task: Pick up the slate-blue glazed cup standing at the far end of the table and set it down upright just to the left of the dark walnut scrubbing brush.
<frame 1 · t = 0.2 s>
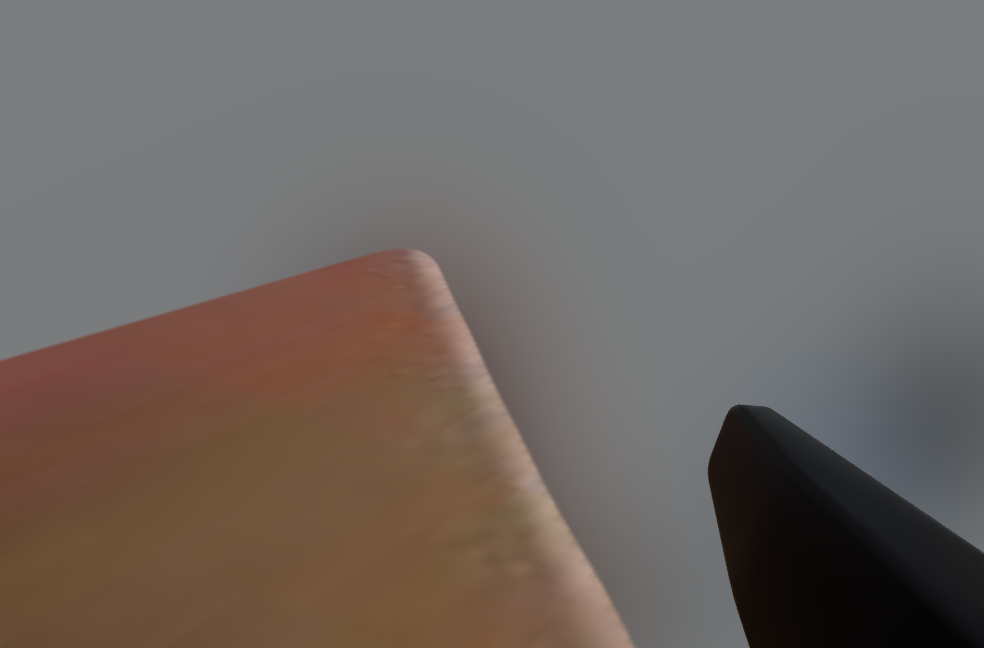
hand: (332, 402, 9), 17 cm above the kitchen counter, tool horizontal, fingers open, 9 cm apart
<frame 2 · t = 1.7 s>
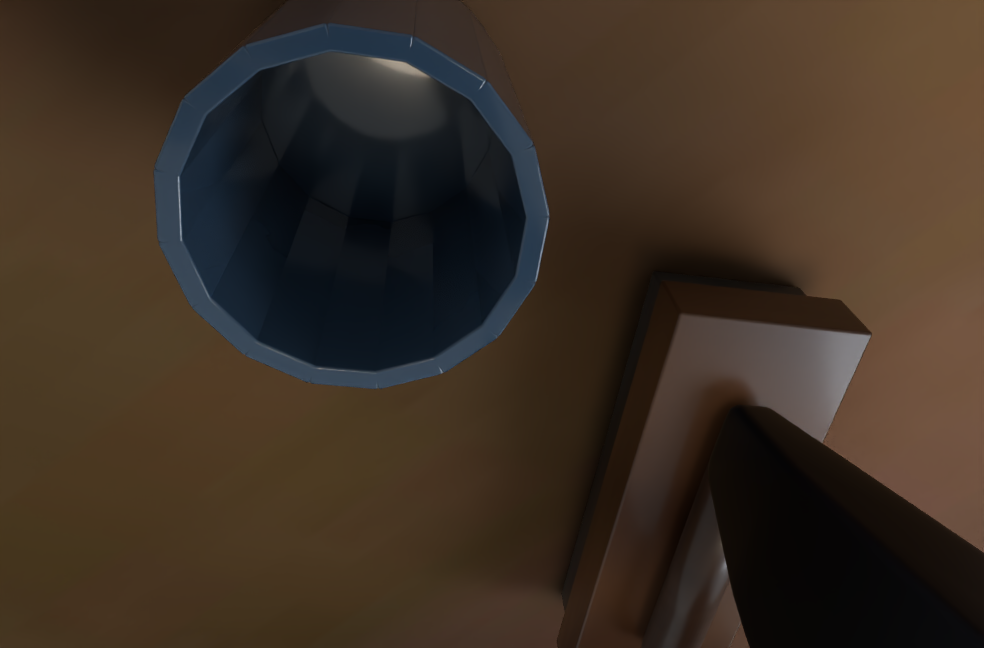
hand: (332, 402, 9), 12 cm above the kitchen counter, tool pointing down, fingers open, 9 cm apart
cup: (380, 106, 19), on the kitchen counter
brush: (666, 457, 25), on the kitchen counter
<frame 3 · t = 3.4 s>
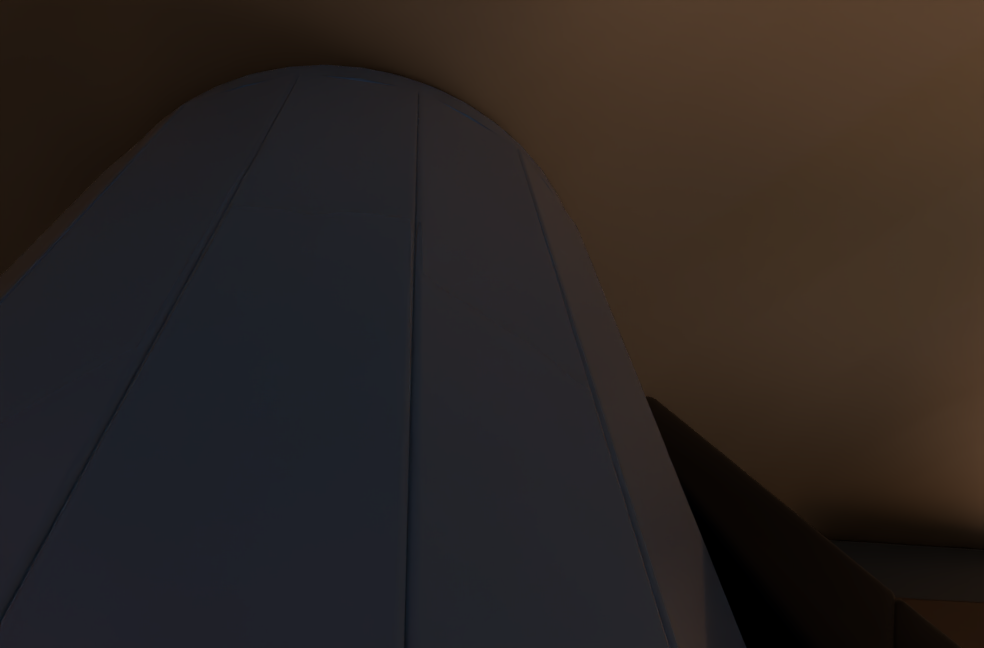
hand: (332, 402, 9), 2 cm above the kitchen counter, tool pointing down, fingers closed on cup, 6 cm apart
cup: (345, 308, 10), on the kitchen counter, touching gripper
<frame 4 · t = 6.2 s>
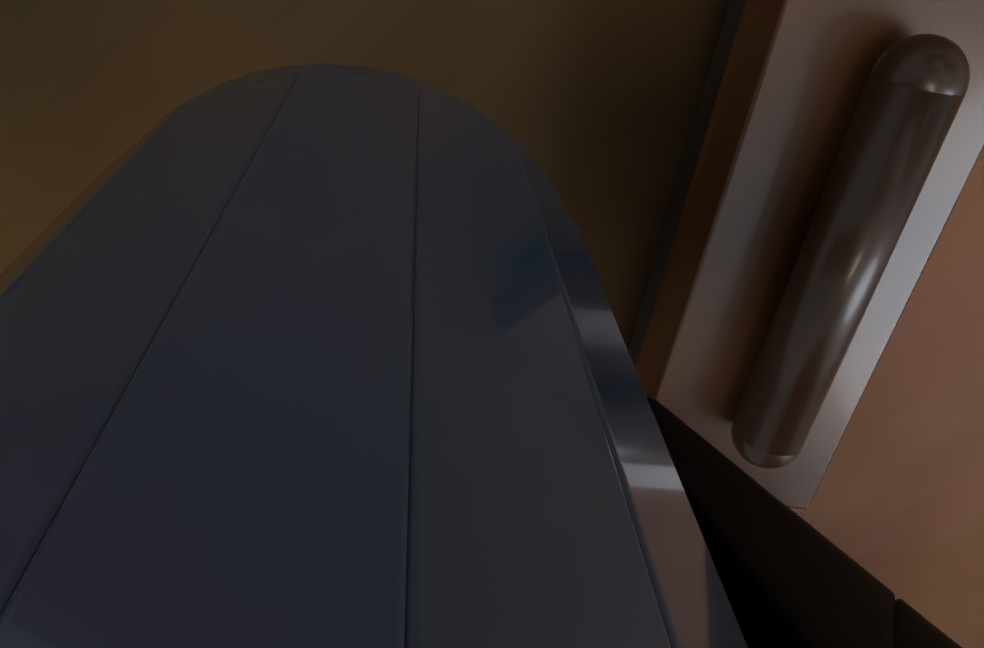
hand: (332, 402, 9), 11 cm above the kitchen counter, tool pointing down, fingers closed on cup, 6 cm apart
cup: (345, 307, 10), point 9 cm above the kitchen counter, touching gripper
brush: (757, 199, 20), on the kitchen counter
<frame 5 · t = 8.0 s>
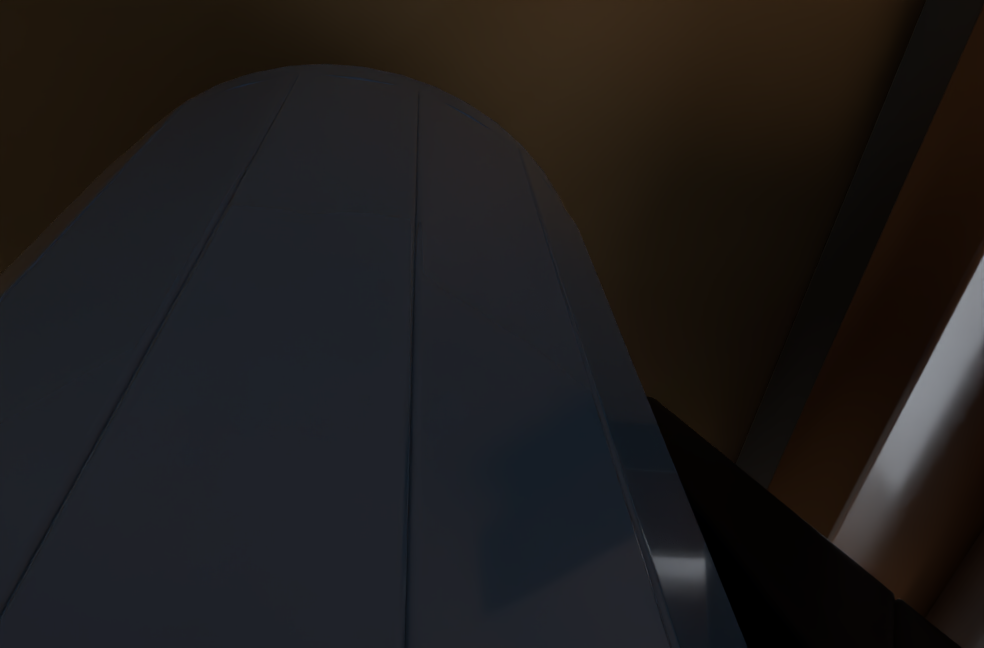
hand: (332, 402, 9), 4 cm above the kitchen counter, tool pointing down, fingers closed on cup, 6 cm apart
cup: (345, 307, 10), point 2 cm above the kitchen counter, touching gripper
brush: (925, 304, 13), on the kitchen counter
when the fingers open (2 cm above the kitchen counter, at t = 9.1 s): cup stays where it is, on the kitchen counter.
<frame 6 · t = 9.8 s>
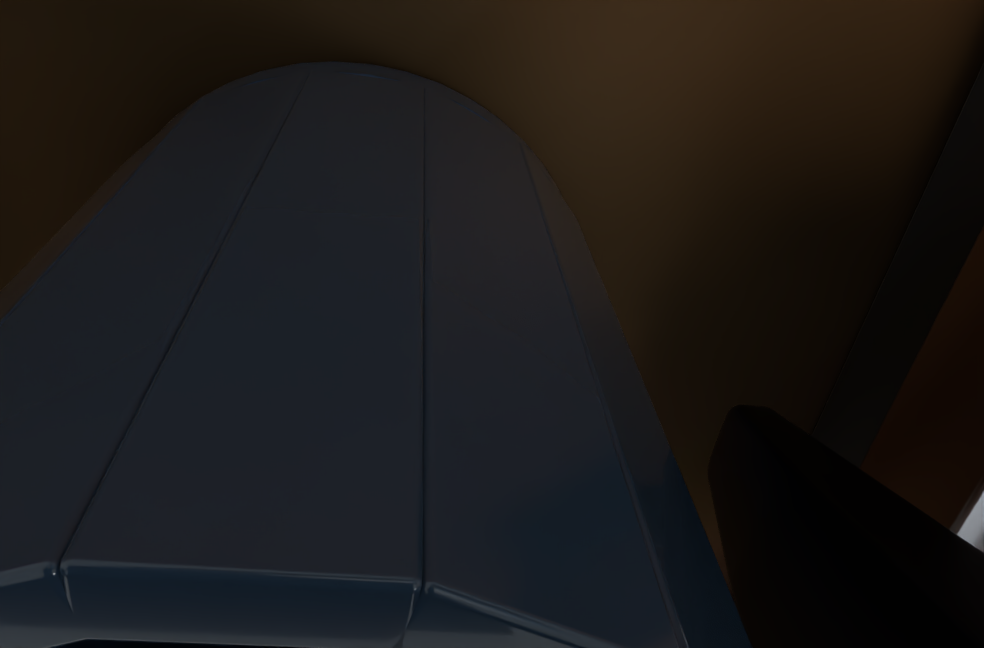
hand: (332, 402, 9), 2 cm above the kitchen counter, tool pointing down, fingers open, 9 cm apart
cup: (352, 296, 11), on the kitchen counter
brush: (983, 359, 12), on the kitchen counter
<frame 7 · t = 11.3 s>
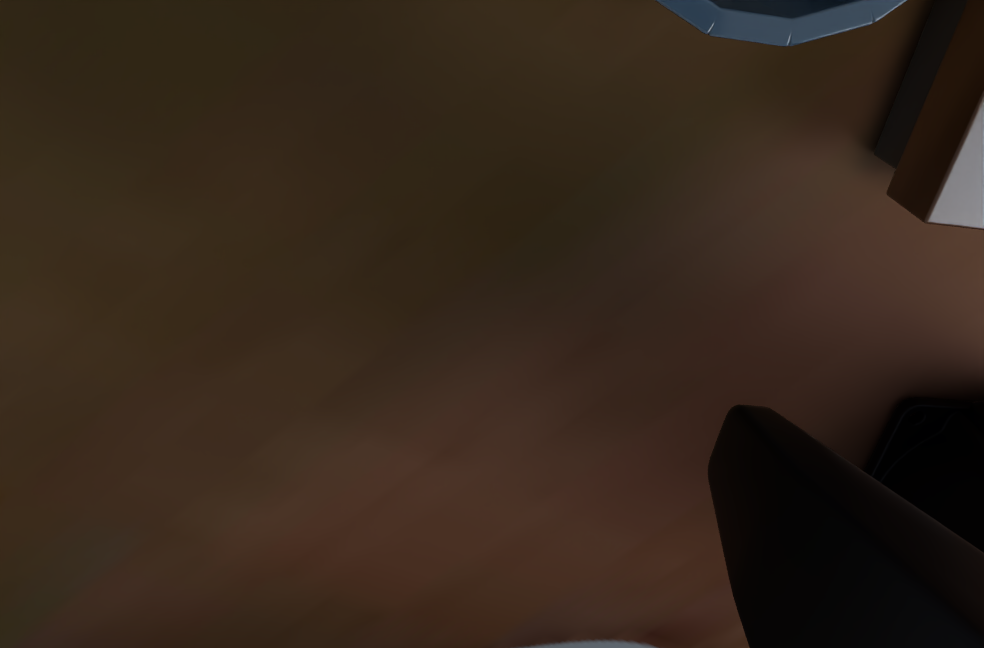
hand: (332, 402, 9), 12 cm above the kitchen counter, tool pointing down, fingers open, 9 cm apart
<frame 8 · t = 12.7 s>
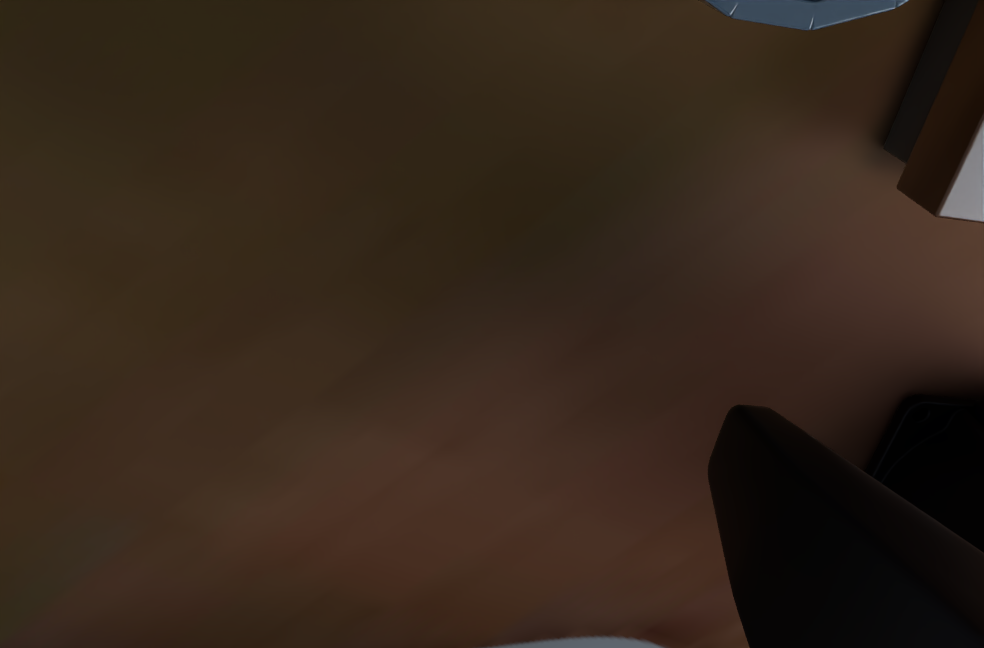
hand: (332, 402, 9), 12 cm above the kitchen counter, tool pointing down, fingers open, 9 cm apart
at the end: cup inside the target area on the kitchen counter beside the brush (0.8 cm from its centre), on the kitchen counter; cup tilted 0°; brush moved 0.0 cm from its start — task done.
